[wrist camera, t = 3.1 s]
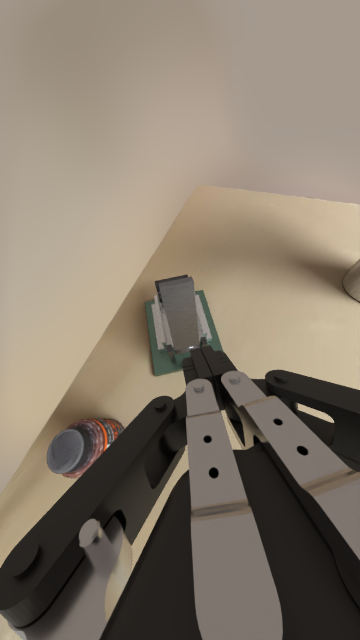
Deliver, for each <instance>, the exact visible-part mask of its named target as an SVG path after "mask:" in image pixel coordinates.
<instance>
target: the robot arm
mask: <svg viewBox="0 0 360 640" xmlns="http://www.w3.org/2000/svg"><path fill="white" fill-rule="evenodd" d="M348 271H349V273H348V274H347V275H346V276H345V277H344V279H343V285H344V288H345V290H346V291H347V293H348V294H349V295H350V296H352V297H353V298H354V299H356V300H358V301H360V259H359V260H358V261H357V262H356V263H355V264H354V265H353V266H352V267H351V268H350V269H349V270H348ZM190 355H191V357H188V358H184V359H183V361H182V367H183V372H184V377H185V382H186V391H185V392H184V393H183V394H182V395H181V396H180V397H178V398H176V399H175V400H173V399H172V398H171V397H169V396H160V397H157V398H155V399H153V400H152V401H151V402H150V403H149V404H148V405H147V406H146V407H145V408H144V409H143V410H142V411H141V412H140V413H139V415H138V416H137V417H136V418H135V419H134V420H133V421H132V422H131V423H130V424H129V425H128V426H127V427H126V428H125V429H124V431H123V432H122V433H121V434H120V435H119V436H118V437H117V438H116V439H115V440H114V441H113V442H112V443H111V444H110V446H109V447H108V448H107V449H106V450H105V451H104V452H103V453H102V454H101V455H100V456H99V457H98V458H97V459H96V460H95V462H94V463H93V464H92V465H91V466H90V467H89V468H88V469H87V470H86V471H85V472H84V473H83V474H82V475H81V477H80V478H79V479H78V480H77V481H76V482H75V483H74V484H73V485H72V486H71V487H70V488H69V489H68V490H67V491H66V493H65V494H64V495H63V496H62V497H61V498H60V499H59V500H58V501H57V502H56V503H55V504H54V505H53V506H52V508H51V509H50V510H49V511H48V512H47V513H46V514H45V515H44V516H43V517H42V518H41V519H40V520H39V521H38V522H37V524H36V525H35V526H34V527H33V528H32V529H31V530H30V531H29V532H28V533H27V534H26V535H25V536H24V537H23V539H22V540H21V541H20V542H19V543H18V544H17V545H16V546H15V547H14V549H13V550H12V551H11V552H10V554H9V555H8V557H7V558H6V560H5V561H4V563H3V565H2V566H1V568H0V614H1V615H2V616H3V617H4V618H5V619H7V621H8V624H9V626H10V628H11V629H12V630H13V631H14V632H15V633H16V634H17V635H18V636H19V637H20V638H21V639H23V640H360V390H357V389H353V388H349V387H346V386H342V385H338V384H334V383H330V382H327V381H323V380H319V379H315V378H311V377H307V376H304V375H300V374H296V373H292V372H288V371H284V370H272V371H269V372H268V373H267V374H266V375H265V379H250V378H249V377H248V376H247V375H246V374H245V373H243V372H240V371H238V370H237V369H236V368H235V366H234V365H233V363H232V362H231V361H230V359H229V358H228V357H227V355H226V354H225V353H224V352H222V351H220V350H218V351H214V350H213V348H212V347H211V345H209V346H204V347H200V348H196V349H191V350H190ZM298 403H299V404H302V405H305V406H307V407H310V408H313V409H316V410H318V411H321V412H324V413H326V414H328V415H329V416H330V417H331V418H332V419H333V420H334V423H331V422H328V421H325V420H323V419H320V418H317V417H315V416H312V415H310V414H307V413H305V412H302V411H299V410H298ZM218 407H219V408H218ZM222 410H225V411H226V414H227V420H228V423H229V425H230V427H231V429H232V431H233V433H234V435H235V437H236V438H237V440H238V442H239V444H240V446H241V448H242V450H232V447H231V444H230V440H229V437H228V434H227V430H226V427H225V424H224V420H223V417H222V414H221V411H222ZM187 444H188V460H189V470H188V471H186V472H185V473H184V474H183V475H182V476H181V478H180V479H179V480H178V481H177V483H176V485H175V486H174V488H173V489H172V491H171V493H170V495H169V497H168V499H167V501H166V503H165V506H164V508H163V510H162V512H161V514H160V516H159V518H158V520H157V522H156V524H155V526H154V528H153V530H152V532H151V534H150V536H149V538H148V540H147V542H146V545H145V547H144V549H143V551H142V553H141V555H140V557H139V559H138V561H137V563H136V565H135V567H134V569H133V571H132V573H131V575H130V572H131V568H132V561H133V553H132V547H131V546H132V544H133V542H134V540H135V539H136V537H137V535H138V533H139V531H140V530H141V528H142V526H143V524H144V523H145V521H146V519H147V517H148V515H149V514H150V512H151V510H152V508H153V507H154V505H155V503H156V501H157V499H158V498H159V496H160V494H161V492H162V490H163V489H164V487H165V485H166V483H167V482H168V480H169V478H170V476H171V474H172V473H173V471H174V469H175V467H176V466H177V464H178V462H179V460H180V458H181V457H182V455H183V453H184V451H185V446H186V445H187ZM129 576H130V577H129Z"/></svg>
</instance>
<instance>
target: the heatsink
mask: <svg viewBox="0 0 360 640" xmlns="http://www.w3.org/2000/svg"><path fill="white" fill-rule="evenodd" d="M187 277H188V275H183V276H178V277H173V278H168V279H163V280H159V281H155V286H156V289H157V292H158V296H159V299H158V297H157V295H154V299H155V300H153V301H148V302H145V307H146V314H147V322H148V329H149V336H150V344H151V351H152V358H153V366H154V373H155V376H161V375H165V374H169V373H174V372H178V371H183V367H182V361H183V359H184V358H188V357H191V355H190V352H185V353H181V354H175V350H174V346H173V342H172V337H171V333H170V329H169V325H168V321H167V317H166V313H165V309H164V305H163V301H162V297H161V293H160V289H159V283H163V282H168V281H173V280H177V279H182V278H187ZM194 292H195V302H196V312H197V322H198V332H199V342H200V347H204V346H209V345H211V347H212V348H213V350H214V351H218V350H220V351H222V352H223V349H222V346H221V343H220V340H219V337H218V334H217V331H216V328H215V325H214V322H213V319H212V316H211V313H210V310H209V307H208V304H207V301H206V298H205V295H204V292H203V290H200V291H194Z"/></svg>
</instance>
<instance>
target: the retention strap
mask: <svg viewBox="0 0 360 640" xmlns="http://www.w3.org/2000/svg"><path fill="white" fill-rule="evenodd" d="M159 289H160V293H161V297H162V301H163V305H164V309H165V313H166V317H167V321H168V325H169V329H170V333H171V337H172V342H173V346H174V350H175V354H181V353H185V352H190V350H191V349H196V348H200V342H199V332H198V322H197V312H196V302H195V292H194V282H193V279H192V277H187V278H182V279H177V280H173V281H168V282H163V283H159Z"/></svg>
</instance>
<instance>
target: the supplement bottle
mask: <svg viewBox="0 0 360 640" xmlns="http://www.w3.org/2000/svg"><path fill="white" fill-rule="evenodd" d="M123 431H124V427H123V426H122V424H121V423H119V422H118V421H116V420H112V419H105V418H104V419H83V420H79V421H76V422H75V423H73V424H71V425H70V426H69V427H68V428H67V429H66V430H63V431H62V432H60V433H59V434H58V435H57V436H55V438H54V439H53V440H52V442H51V444H50V446H49V448H48V452H47V464H48V467H49V469H51V471H53V472H54V473H57V474H62V475H63V476H65V477H67V478H80V477H81V475H82V474H83V473H84V472H85V471H86V470H87V469H88V468H89V467H90V466H91V465H92V464H93V463H94V462H95V460H96V459H97V458H98V457H99V456H100V455H101V454H102V453H103V452H104V451H105V450H106V449H107V448H108V447H109V446H110V444H111V443H112V442H113V441H114V440H115V439H116V438H117V437H118V436H119V435H120V434H121V433H122V432H123Z"/></svg>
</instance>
